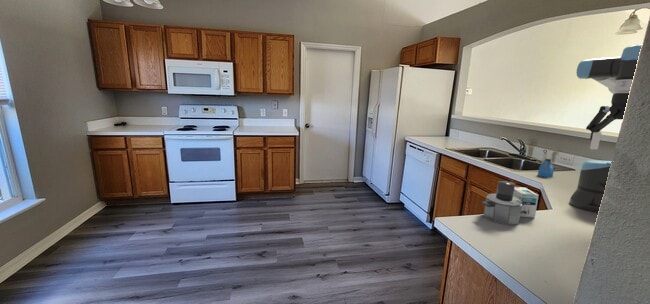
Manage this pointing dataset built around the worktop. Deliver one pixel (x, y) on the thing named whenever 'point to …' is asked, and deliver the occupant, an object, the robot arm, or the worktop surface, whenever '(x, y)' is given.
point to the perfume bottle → (546, 169)
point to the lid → (504, 195)
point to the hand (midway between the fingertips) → (614, 152)
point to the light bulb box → (526, 201)
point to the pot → (502, 213)
